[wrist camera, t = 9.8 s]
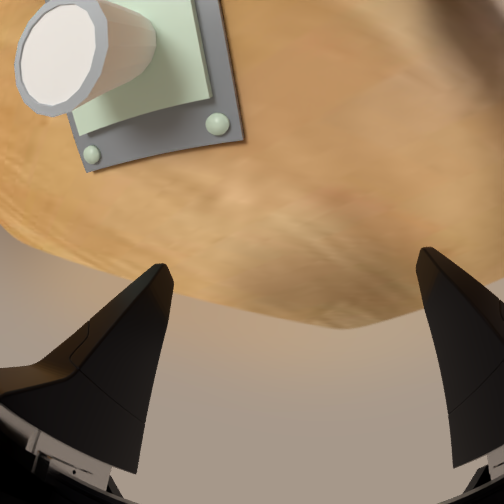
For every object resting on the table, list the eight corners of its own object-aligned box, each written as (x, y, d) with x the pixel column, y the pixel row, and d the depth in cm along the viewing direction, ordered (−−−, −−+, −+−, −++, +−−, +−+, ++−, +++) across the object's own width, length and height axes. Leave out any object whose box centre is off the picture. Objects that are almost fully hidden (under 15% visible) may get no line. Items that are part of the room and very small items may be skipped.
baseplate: (205, -72, 8) (199, -81, 7) (244, 137, 19) (241, 144, 18) (50, -2, 11) (37, -2, 9) (91, 169, 22) (80, 177, 20)
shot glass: (87, 10, 11) (18, 10, 6) (173, 0, 12) (118, -21, 6) (79, 93, 16) (13, 120, 10) (159, 93, 16) (102, 117, 10)
